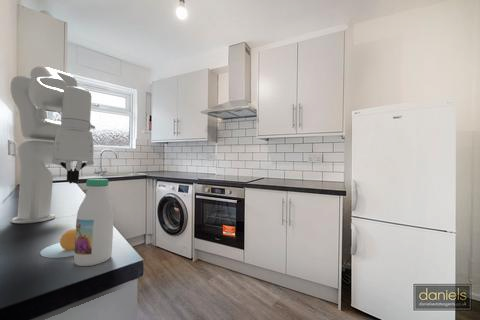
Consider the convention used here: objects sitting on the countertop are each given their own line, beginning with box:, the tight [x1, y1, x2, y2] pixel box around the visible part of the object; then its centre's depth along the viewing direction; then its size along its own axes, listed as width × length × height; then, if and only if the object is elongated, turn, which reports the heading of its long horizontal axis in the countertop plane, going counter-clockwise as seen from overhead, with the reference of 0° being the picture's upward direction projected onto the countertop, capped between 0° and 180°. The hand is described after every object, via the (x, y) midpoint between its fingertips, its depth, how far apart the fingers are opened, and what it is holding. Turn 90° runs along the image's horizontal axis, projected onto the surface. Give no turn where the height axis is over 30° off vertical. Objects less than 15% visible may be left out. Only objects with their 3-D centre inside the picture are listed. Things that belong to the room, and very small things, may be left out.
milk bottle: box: [73, 178, 114, 267], centre depth 53 cm, size 8×8×20 cm
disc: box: [39, 242, 74, 259], centre depth 59 cm, size 13×13×1 cm
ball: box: [59, 228, 76, 251], centre depth 58 cm, size 6×6×6 cm
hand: (72, 182), depth 69 cm, fingers closed
